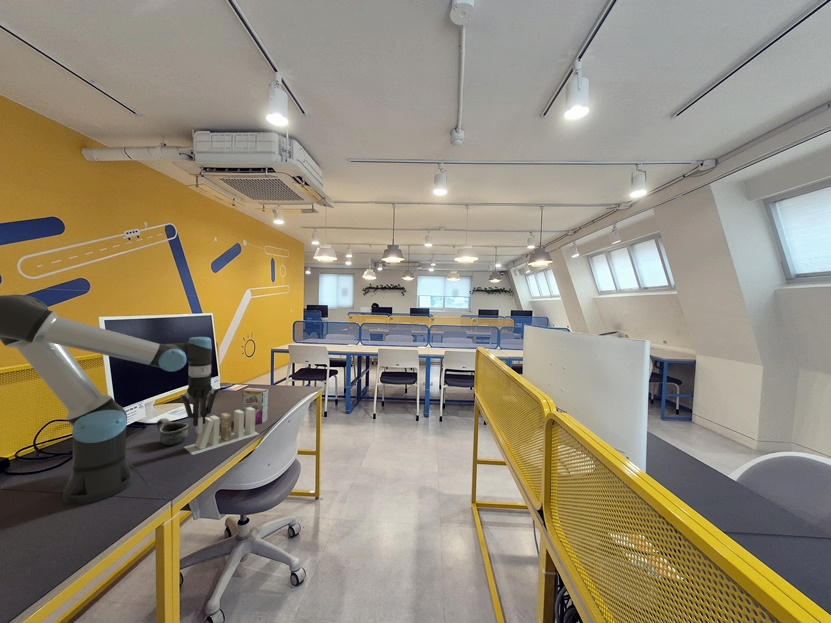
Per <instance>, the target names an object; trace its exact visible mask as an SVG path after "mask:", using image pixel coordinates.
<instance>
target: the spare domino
mask: <svg viewBox="0 0 831 623" xmlns="http://www.w3.org/2000/svg"><path fill="white" fill-rule="evenodd" d="M220 414H221V416H220V418H221V419H220V436H221V439H222V440H223V441H225V442H228V441H231V433H232V414H230V413H228V412H223V413H220Z"/></svg>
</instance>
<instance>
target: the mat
mask: <svg viewBox="0 0 831 623" xmlns="http://www.w3.org/2000/svg"><path fill="white" fill-rule="evenodd" d="M258 435H260V433H259V432H257V431H255V433H254V434H249V433H247V432H245V428H244V435H243V437H241V438H238V437H236V436H235V435H234V432H231V441H228V442H225V441H223V440H222V439H221V435H219V444H218V445H214V446H213V445H211V444H210V443H209V442H208V441H207V444H206V447H205V448H203V449H199V448H198V447H197V446H196V445H195V443H193V444H190V445H186V446H183V448H184V449H186V451H187V452H189V453H190V454H191V455H192V456H194V455H196V454H197V455H198V454H201V453H203V452H207V451H210V450H214V449H216V448H219V447H223V446H226V445H230V444H233V443H235V442H239V441H243V440H244V439H245V440H246V439H248V438H251V437H255V436H258Z"/></svg>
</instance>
